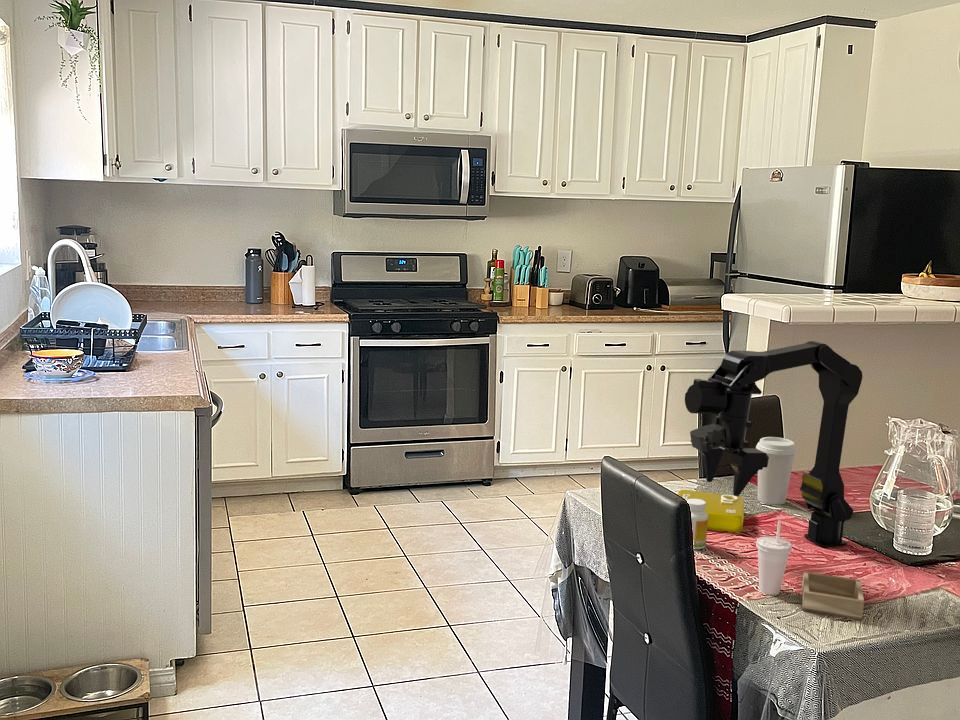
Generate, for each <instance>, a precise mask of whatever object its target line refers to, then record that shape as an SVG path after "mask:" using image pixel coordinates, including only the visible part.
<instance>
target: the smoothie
mask: <svg viewBox="0 0 960 720" xmlns="http://www.w3.org/2000/svg"><path fill="white" fill-rule="evenodd" d="M781 526H782V520H780V519H779V520H777V528H776V536H769V535H768V536H767V535H765V536H760V537H758V538H757V539H756V543H755V546H756V548H757V560H758V561H757V562H758V563H757V564H758V566H757V567H758V587H759V588H758V590H759V591H760V593H762V592H763V593H762V594H765V595H769V596H776V595H779V594H780V592H781V588H782V584H783V579H784V576H785V571H786V569H787V568H786V567H787V564H788V560H789V555H790V553H791V552H792V547H793V546H792V543H791V542H790V541H788V540H787V539H784V538H782V537H780V535H781Z"/></svg>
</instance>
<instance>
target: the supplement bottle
mask: <svg viewBox="0 0 960 720" xmlns="http://www.w3.org/2000/svg"><path fill="white" fill-rule="evenodd" d="M687 503H688V504H689V506H690V511H691V518H692V528H693V540H694V548H695V549H694V550H702V549H705V548H706V546H707V545H706V544H707V537H708V536H707V535H708V530H707V526H708V514H707V512H706V511H704V510H705V508H706V502H705V501H703V500H700V499H688V500H687Z"/></svg>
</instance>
